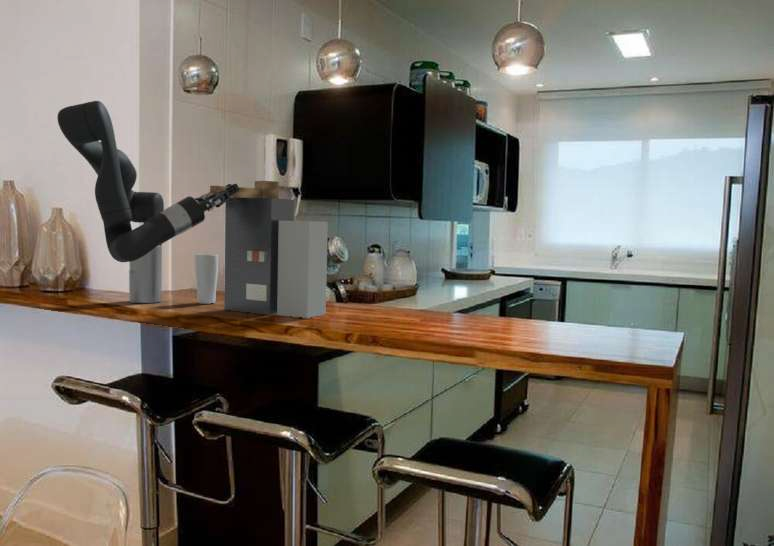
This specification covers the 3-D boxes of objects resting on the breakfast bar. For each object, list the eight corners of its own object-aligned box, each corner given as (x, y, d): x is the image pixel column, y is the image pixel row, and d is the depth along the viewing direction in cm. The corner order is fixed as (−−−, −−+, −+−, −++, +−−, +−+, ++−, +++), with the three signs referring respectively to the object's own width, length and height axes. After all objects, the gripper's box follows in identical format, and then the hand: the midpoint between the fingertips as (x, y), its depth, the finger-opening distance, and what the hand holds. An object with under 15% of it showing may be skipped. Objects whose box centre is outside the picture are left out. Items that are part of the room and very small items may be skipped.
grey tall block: (277, 315, 178) (278, 220, 176) (296, 311, 186) (298, 220, 184) (307, 318, 173) (309, 221, 171) (325, 314, 181) (327, 221, 179)
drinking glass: (214, 304, 195) (214, 255, 193) (191, 304, 195) (192, 254, 194) (220, 302, 201) (220, 254, 200) (198, 301, 202) (199, 253, 200)
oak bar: (216, 196, 173) (216, 177, 172) (208, 196, 176) (208, 177, 176) (278, 199, 185) (278, 181, 184) (269, 199, 189) (270, 182, 188)
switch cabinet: (222, 310, 184) (223, 197, 181) (248, 306, 194) (249, 199, 191) (267, 315, 176) (269, 197, 174) (292, 311, 187) (294, 199, 184)
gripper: (185, 203, 163) (240, 173, 172) (165, 203, 174) (217, 175, 183) (199, 229, 166) (252, 198, 175) (178, 228, 177) (229, 199, 185)
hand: (234, 186), depth 179 cm, fingers closed on oak bar, 3 cm apart
